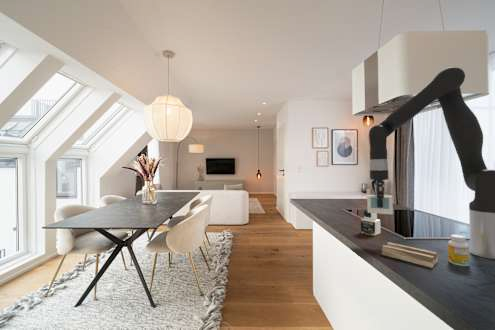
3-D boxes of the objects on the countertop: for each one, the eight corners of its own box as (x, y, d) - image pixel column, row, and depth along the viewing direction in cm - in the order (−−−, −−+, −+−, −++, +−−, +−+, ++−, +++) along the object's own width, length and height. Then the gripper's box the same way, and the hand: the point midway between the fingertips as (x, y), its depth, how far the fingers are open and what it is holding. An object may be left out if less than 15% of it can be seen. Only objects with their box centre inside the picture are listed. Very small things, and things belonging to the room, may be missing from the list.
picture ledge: (389, 249, 97) (389, 241, 97) (437, 261, 84) (437, 252, 85) (381, 254, 92) (381, 246, 92) (432, 267, 79) (432, 258, 79)
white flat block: (367, 211, 109) (367, 195, 109) (392, 213, 105) (391, 195, 105) (367, 212, 107) (367, 195, 107) (392, 214, 103) (392, 196, 103)
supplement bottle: (448, 259, 86) (447, 233, 87) (468, 262, 83) (467, 235, 83) (448, 263, 82) (448, 236, 82) (469, 267, 79) (469, 239, 79)
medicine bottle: (360, 233, 121) (360, 210, 121) (366, 230, 125) (366, 208, 126) (375, 236, 115) (374, 212, 115) (380, 233, 120) (380, 210, 120)
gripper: (368, 169, 114) (369, 204, 114) (370, 169, 101) (371, 209, 101) (386, 168, 111) (387, 204, 111) (390, 169, 98) (391, 210, 98)
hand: (379, 206), depth 106 cm, fingers closed on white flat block, 2 cm apart
